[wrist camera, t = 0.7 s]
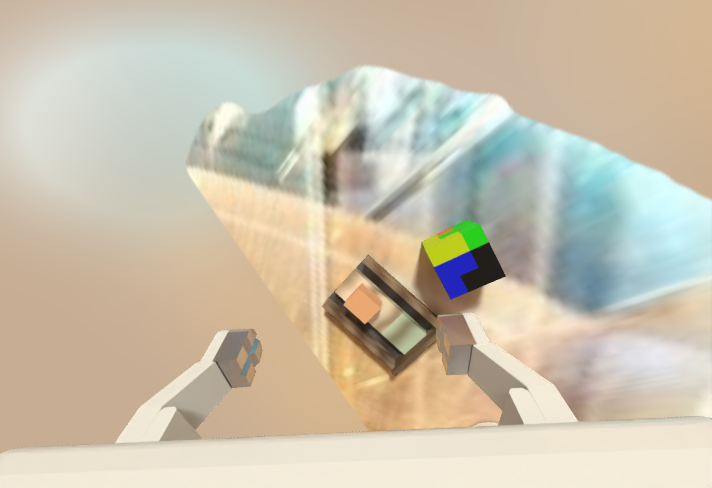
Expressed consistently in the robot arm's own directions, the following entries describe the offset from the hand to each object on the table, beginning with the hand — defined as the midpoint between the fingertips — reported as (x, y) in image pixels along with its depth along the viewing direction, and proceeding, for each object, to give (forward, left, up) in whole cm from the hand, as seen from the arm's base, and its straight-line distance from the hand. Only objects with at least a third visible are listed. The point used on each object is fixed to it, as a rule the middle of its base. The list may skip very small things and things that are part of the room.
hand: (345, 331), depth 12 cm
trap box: (-12, +16, -47) cm, 51 cm away
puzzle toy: (-14, -4, -47) cm, 49 cm away
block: (-7, +16, -44) cm, 47 cm away
